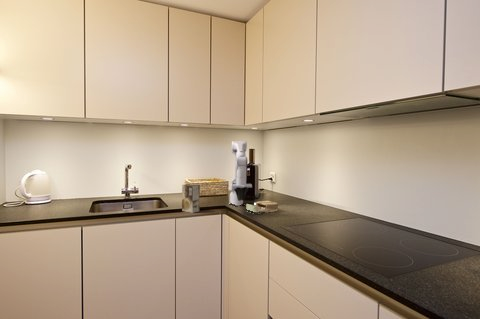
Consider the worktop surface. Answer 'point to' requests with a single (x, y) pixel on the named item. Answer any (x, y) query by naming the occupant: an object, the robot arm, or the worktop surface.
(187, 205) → the coffee box
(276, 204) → the housing
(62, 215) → the worktop surface
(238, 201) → the robot arm
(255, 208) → the tray
